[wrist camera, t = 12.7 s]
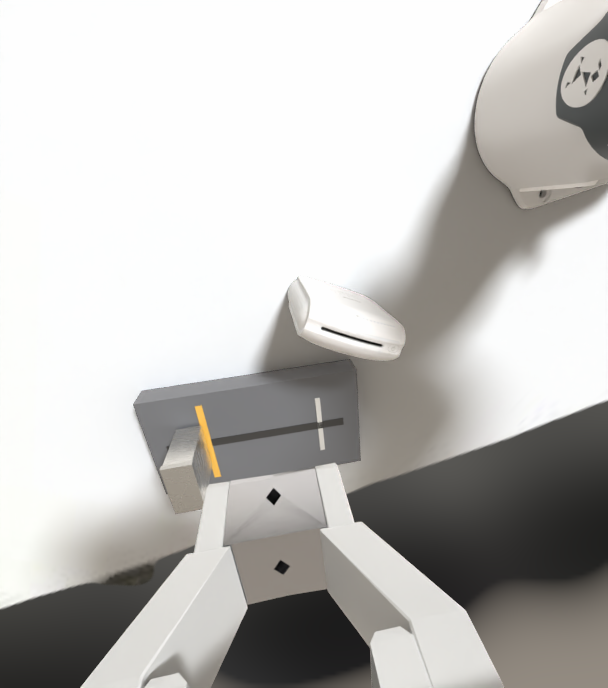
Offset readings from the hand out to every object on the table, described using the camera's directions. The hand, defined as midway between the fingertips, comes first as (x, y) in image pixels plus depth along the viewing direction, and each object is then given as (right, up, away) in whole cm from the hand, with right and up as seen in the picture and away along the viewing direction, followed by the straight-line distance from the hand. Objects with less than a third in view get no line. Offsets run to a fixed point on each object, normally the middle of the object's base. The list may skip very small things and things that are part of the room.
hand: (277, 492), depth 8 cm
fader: (-13, -9, +33) cm, 36 cm away
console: (-6, -7, +36) cm, 37 cm away
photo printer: (+4, +9, +31) cm, 33 cm away
